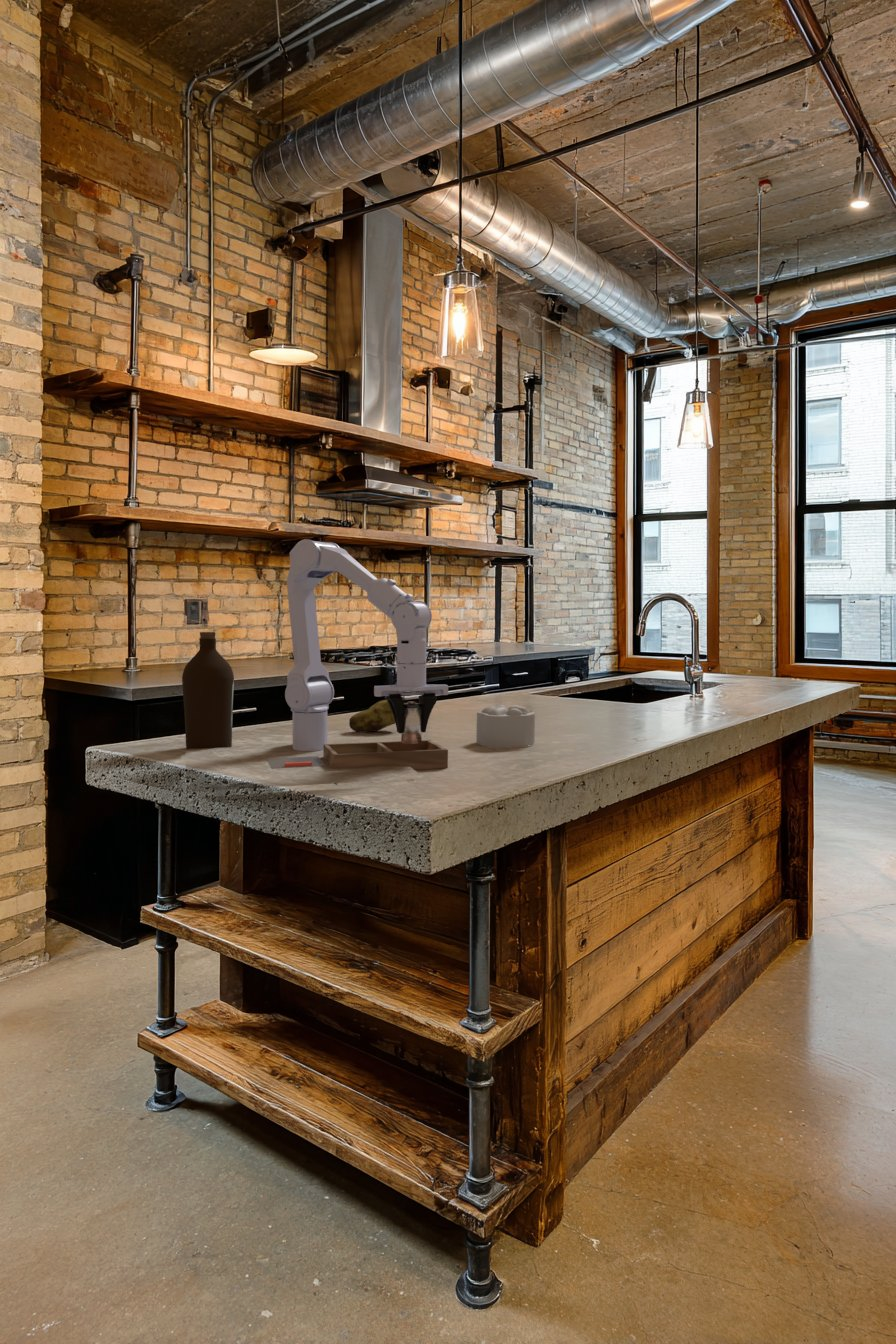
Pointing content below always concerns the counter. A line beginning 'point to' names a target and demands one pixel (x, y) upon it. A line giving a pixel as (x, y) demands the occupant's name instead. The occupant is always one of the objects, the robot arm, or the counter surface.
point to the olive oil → (208, 697)
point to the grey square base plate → (295, 762)
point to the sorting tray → (386, 755)
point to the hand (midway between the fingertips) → (411, 732)
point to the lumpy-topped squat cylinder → (505, 727)
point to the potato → (373, 718)
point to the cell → (412, 723)
